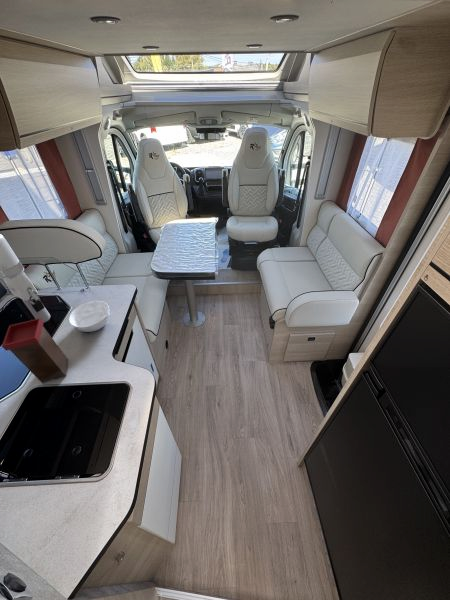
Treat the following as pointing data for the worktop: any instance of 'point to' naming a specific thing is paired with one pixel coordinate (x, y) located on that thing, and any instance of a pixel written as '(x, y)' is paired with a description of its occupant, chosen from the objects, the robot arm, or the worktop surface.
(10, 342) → the red tray
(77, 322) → the bowl
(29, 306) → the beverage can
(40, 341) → the pedestal
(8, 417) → the worktop surface
